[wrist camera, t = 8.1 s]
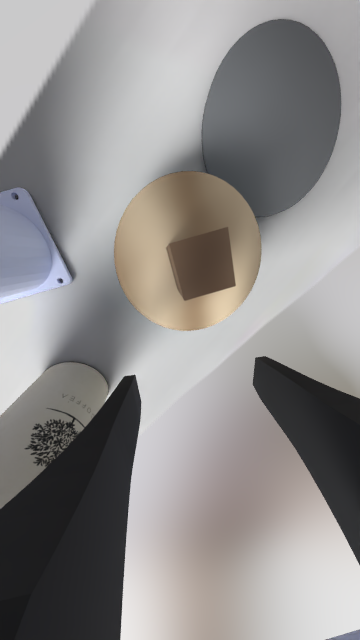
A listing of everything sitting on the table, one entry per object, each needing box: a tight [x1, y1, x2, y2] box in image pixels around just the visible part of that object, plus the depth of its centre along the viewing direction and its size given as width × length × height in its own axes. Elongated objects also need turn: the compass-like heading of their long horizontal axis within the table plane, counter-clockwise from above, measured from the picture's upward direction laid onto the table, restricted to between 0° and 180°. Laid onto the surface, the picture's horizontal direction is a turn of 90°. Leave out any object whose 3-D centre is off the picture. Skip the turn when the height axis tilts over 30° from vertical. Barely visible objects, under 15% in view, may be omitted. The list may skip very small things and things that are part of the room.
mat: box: [202, 19, 341, 217], centre depth 14 cm, size 12×12×1 cm
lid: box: [114, 171, 261, 331], centre depth 11 cm, size 11×11×5 cm
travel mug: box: [0, 362, 108, 509], centre depth 13 cm, size 8×8×18 cm
